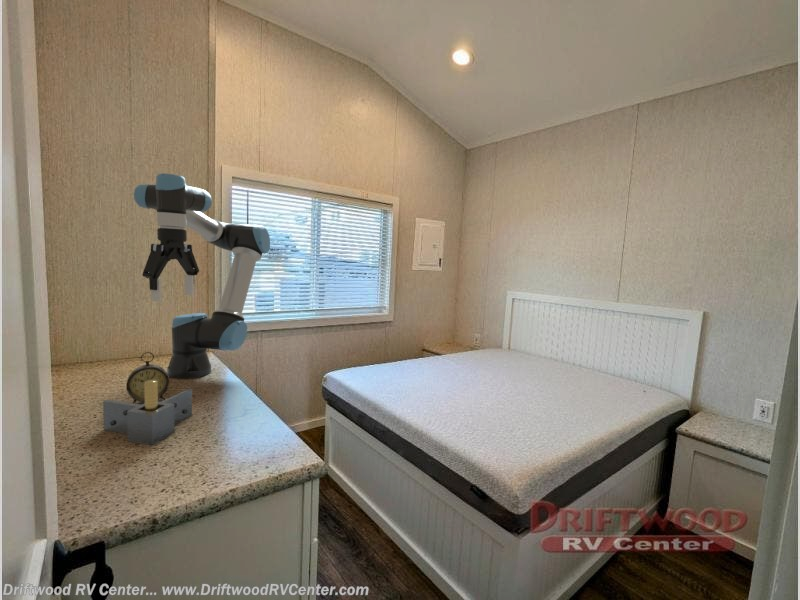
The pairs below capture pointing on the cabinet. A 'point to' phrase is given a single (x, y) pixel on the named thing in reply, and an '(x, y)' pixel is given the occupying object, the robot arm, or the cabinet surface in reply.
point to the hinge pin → (151, 395)
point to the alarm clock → (143, 374)
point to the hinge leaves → (147, 418)
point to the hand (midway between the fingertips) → (173, 298)
